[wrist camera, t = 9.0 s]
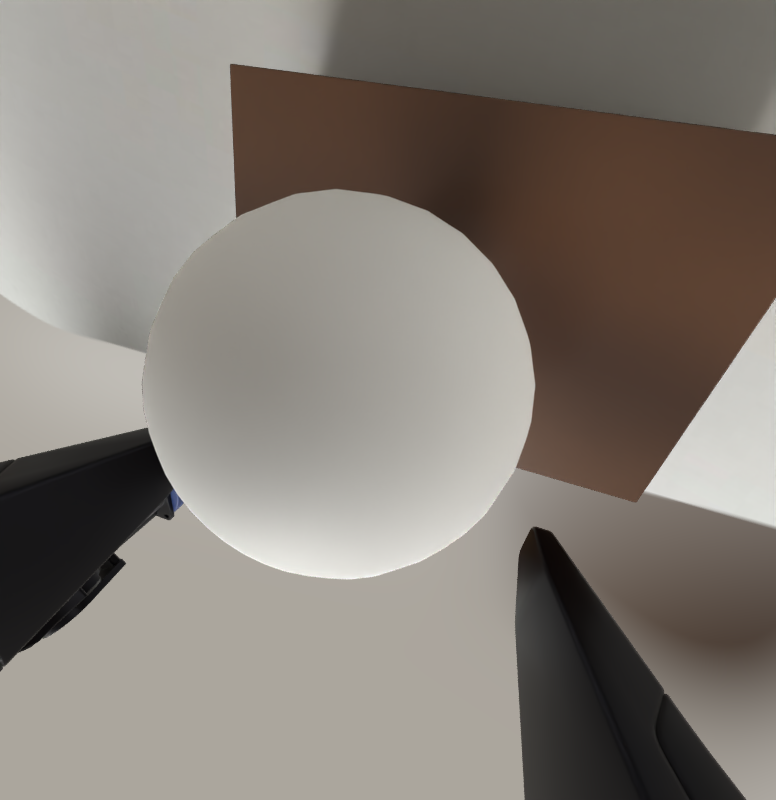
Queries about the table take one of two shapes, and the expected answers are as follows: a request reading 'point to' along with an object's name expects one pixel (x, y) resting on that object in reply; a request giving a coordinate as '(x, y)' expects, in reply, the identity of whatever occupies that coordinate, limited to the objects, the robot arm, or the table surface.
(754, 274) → the dark wooden block
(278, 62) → the table surface
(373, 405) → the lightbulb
